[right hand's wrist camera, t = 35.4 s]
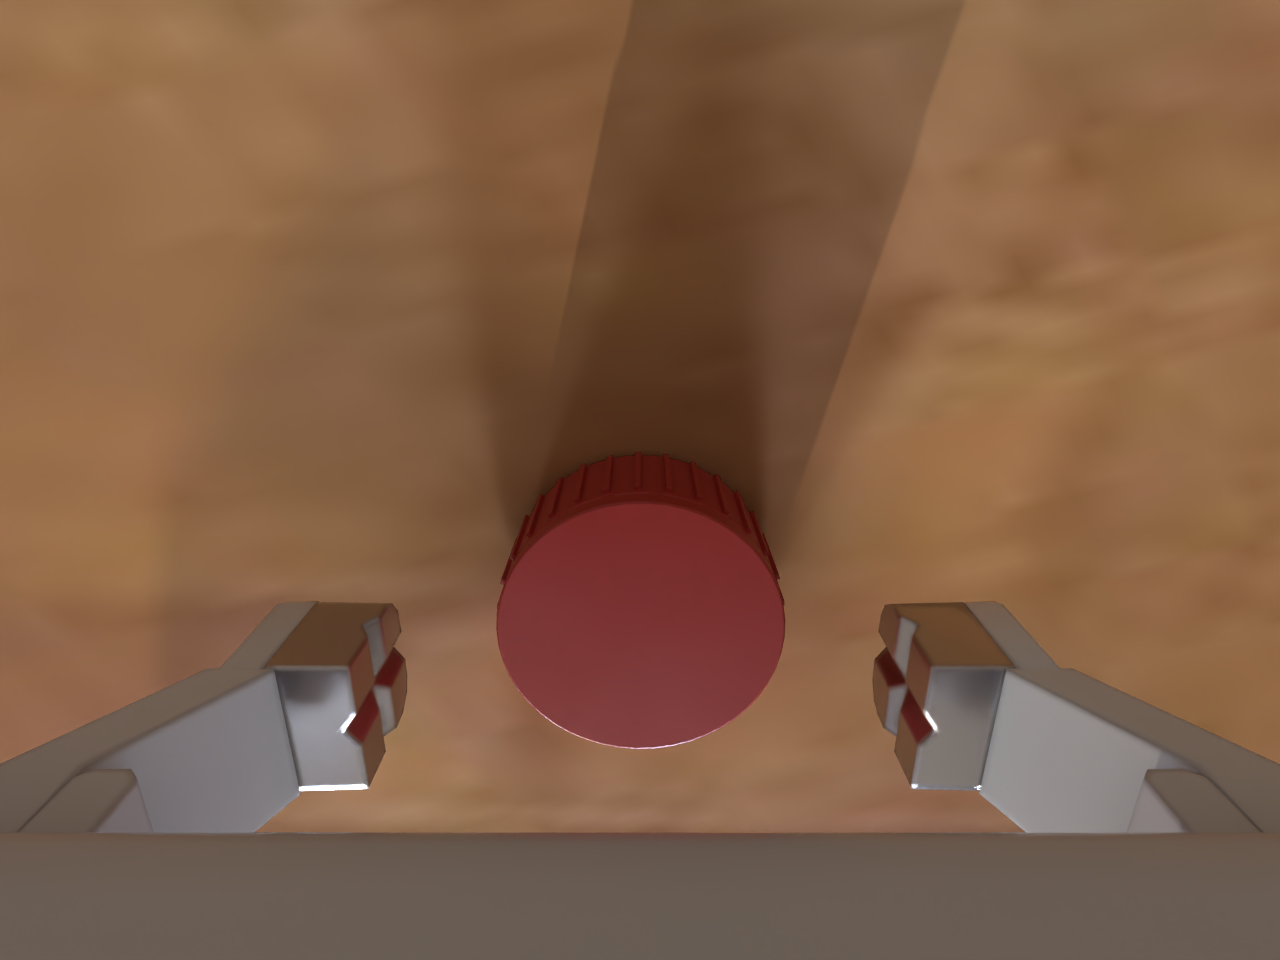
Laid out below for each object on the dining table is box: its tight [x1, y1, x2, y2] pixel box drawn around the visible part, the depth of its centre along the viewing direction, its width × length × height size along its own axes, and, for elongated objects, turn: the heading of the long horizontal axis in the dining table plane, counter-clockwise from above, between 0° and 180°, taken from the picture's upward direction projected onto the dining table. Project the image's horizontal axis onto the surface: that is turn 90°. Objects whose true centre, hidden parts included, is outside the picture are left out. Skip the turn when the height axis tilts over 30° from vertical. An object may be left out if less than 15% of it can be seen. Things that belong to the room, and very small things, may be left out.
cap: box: [496, 452, 785, 749], centre depth 11 cm, size 4×4×2 cm
